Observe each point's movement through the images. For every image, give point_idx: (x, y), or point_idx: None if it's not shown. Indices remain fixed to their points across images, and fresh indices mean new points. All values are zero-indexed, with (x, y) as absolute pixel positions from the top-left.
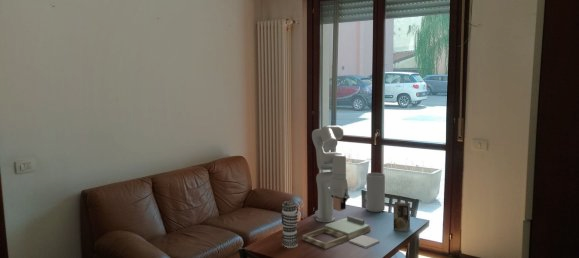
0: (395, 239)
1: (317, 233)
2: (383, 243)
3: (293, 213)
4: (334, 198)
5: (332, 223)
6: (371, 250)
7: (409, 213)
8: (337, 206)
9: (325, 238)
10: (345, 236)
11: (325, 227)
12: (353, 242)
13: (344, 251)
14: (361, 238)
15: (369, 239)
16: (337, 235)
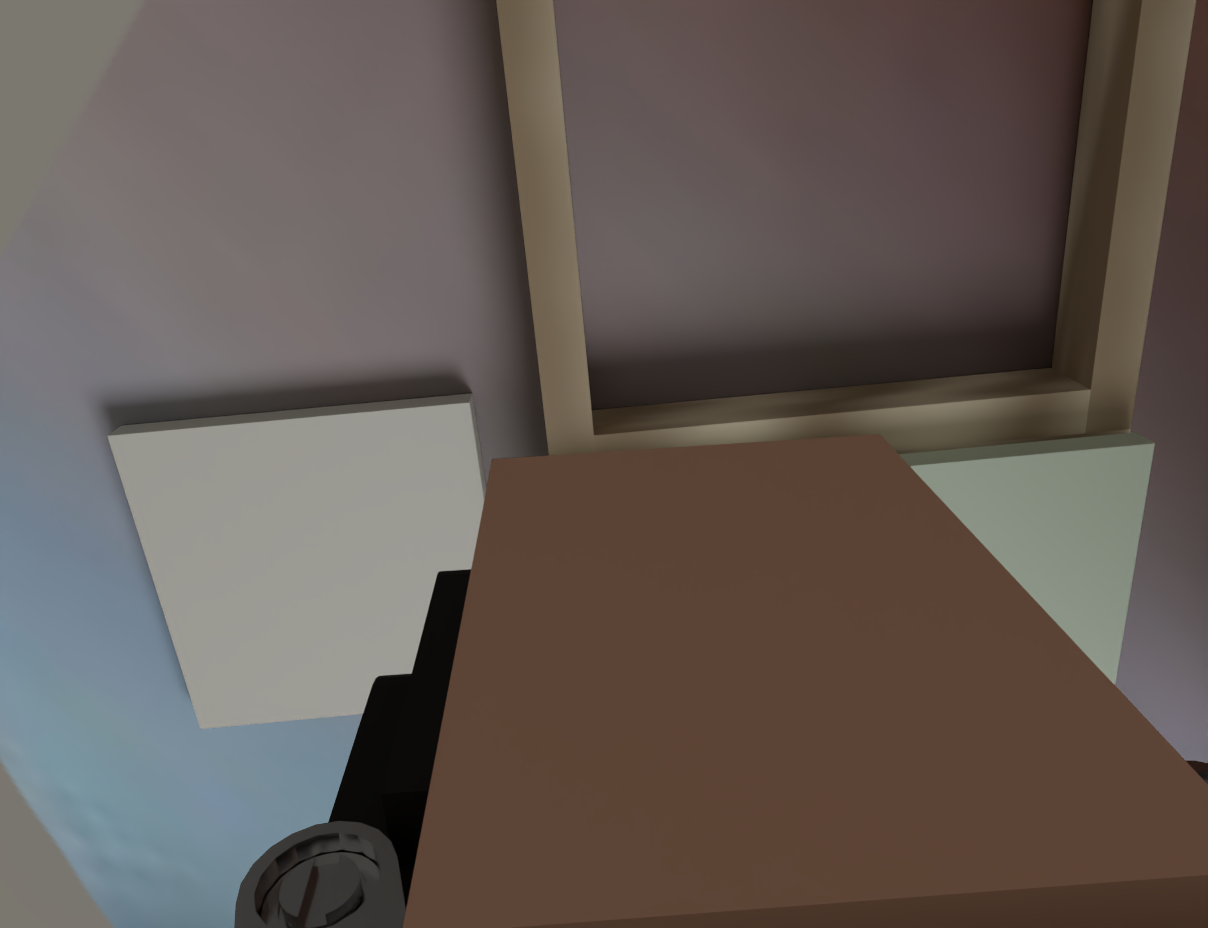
0: (182, 905)
1: (1090, 180)
2: (147, 722)
3: None
4: (1032, 806)
5: (1090, 594)
6: (4, 430)
7: None
8: (621, 530)
9: (857, 184)
10: (550, 410)
11: (1110, 426)
12: (375, 408)
13: (184, 35)
14: (413, 598)
15: (313, 656)
16: (763, 402)
